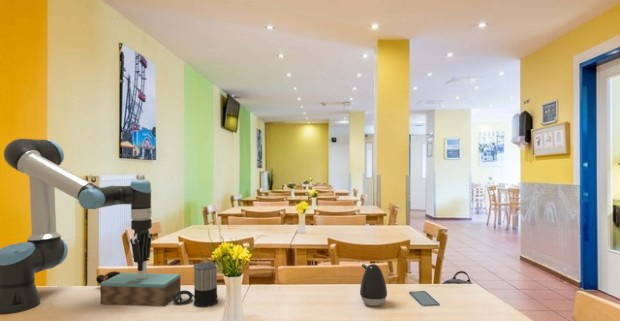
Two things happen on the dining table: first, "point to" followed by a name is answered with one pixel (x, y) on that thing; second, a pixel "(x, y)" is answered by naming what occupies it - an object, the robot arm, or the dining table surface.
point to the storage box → (139, 295)
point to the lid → (141, 280)
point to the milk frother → (202, 286)
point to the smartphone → (424, 298)
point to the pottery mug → (103, 277)
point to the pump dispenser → (373, 286)
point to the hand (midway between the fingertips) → (142, 277)
